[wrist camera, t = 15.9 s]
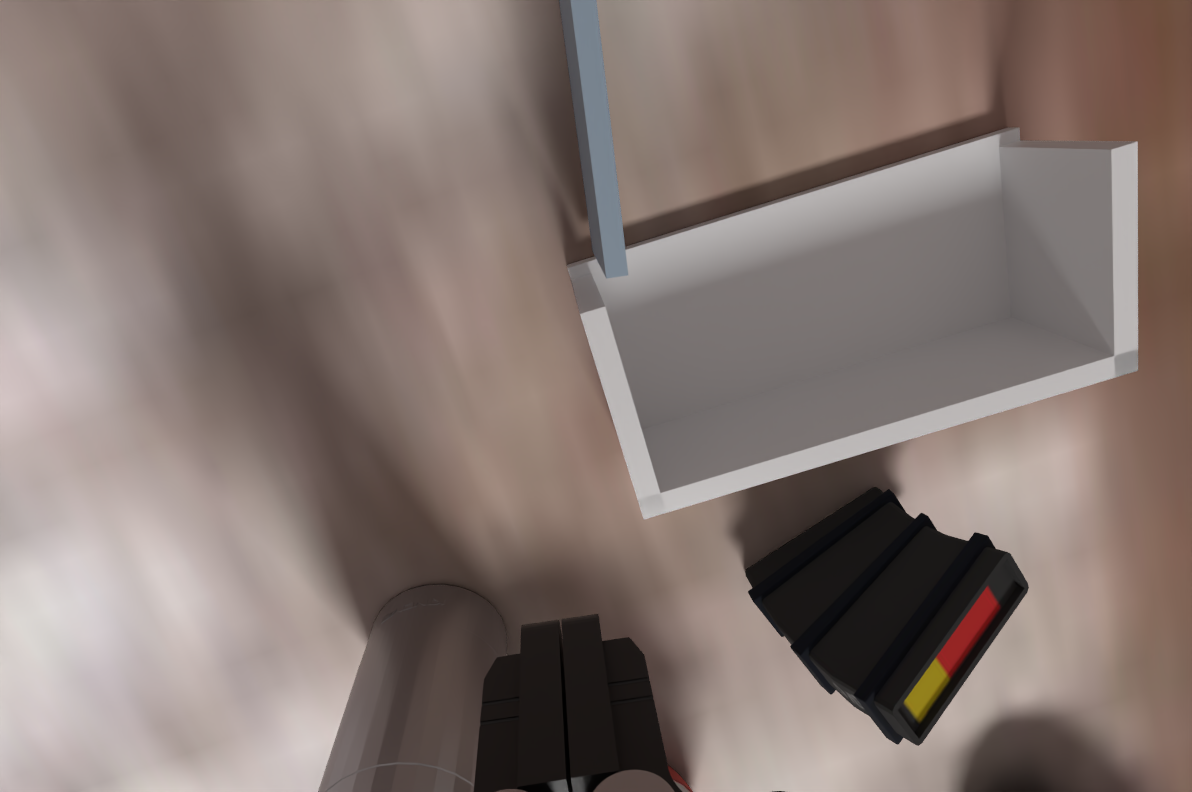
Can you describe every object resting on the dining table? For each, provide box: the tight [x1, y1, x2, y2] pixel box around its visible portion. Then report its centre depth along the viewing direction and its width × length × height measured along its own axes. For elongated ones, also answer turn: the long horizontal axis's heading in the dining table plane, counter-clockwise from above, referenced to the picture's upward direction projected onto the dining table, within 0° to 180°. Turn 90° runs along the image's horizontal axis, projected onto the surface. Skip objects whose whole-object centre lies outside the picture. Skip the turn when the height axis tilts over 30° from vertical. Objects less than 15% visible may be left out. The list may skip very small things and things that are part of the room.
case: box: [567, 127, 1138, 519], centre depth 37 cm, size 12×26×9 cm, turn 106°
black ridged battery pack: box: [745, 487, 1029, 746], centre depth 43 cm, size 4×13×15 cm, turn 126°
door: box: [559, 0, 628, 279], centre depth 31 cm, size 2×23×8 cm, turn 8°
